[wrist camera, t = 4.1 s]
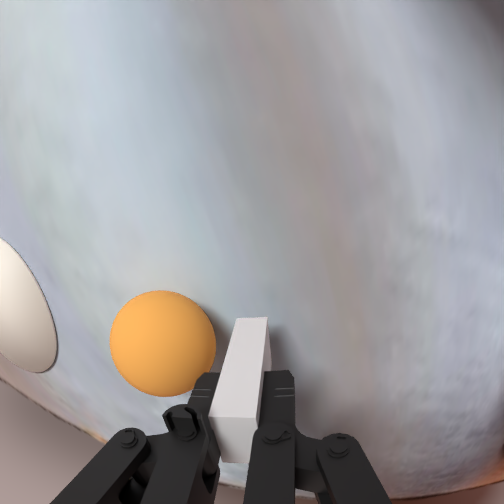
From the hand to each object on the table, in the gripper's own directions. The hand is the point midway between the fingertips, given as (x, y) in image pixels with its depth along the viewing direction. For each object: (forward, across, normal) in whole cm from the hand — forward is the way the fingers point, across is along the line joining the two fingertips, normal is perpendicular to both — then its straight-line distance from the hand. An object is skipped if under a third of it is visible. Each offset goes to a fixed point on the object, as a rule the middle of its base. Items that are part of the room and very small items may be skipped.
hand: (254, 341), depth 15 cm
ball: (-1, -5, 0) cm, 5 cm away
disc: (+2, -22, +1) cm, 22 cm away
